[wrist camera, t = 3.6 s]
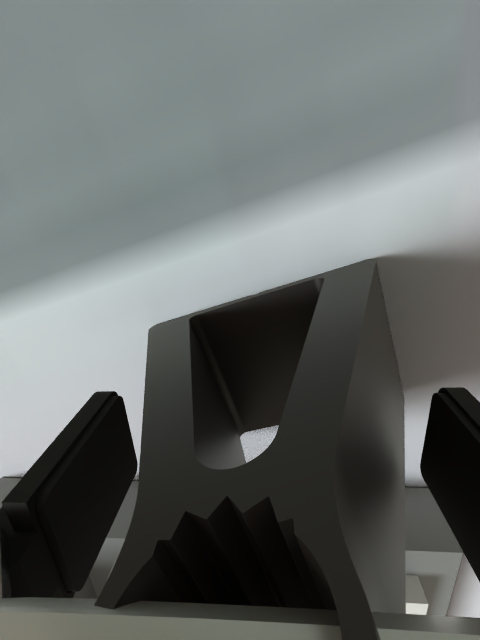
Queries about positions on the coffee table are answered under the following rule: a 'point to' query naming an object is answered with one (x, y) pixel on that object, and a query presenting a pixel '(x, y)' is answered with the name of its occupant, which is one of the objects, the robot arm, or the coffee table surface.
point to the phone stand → (273, 457)
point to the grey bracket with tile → (420, 550)
